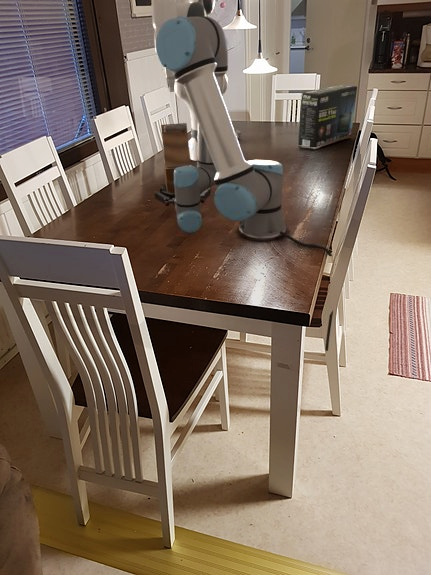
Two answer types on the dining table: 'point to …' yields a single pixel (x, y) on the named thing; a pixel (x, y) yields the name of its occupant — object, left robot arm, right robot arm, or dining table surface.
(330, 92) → the router box
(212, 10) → the left robot arm
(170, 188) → the chest
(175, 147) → the lid
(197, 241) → the dining table surface
